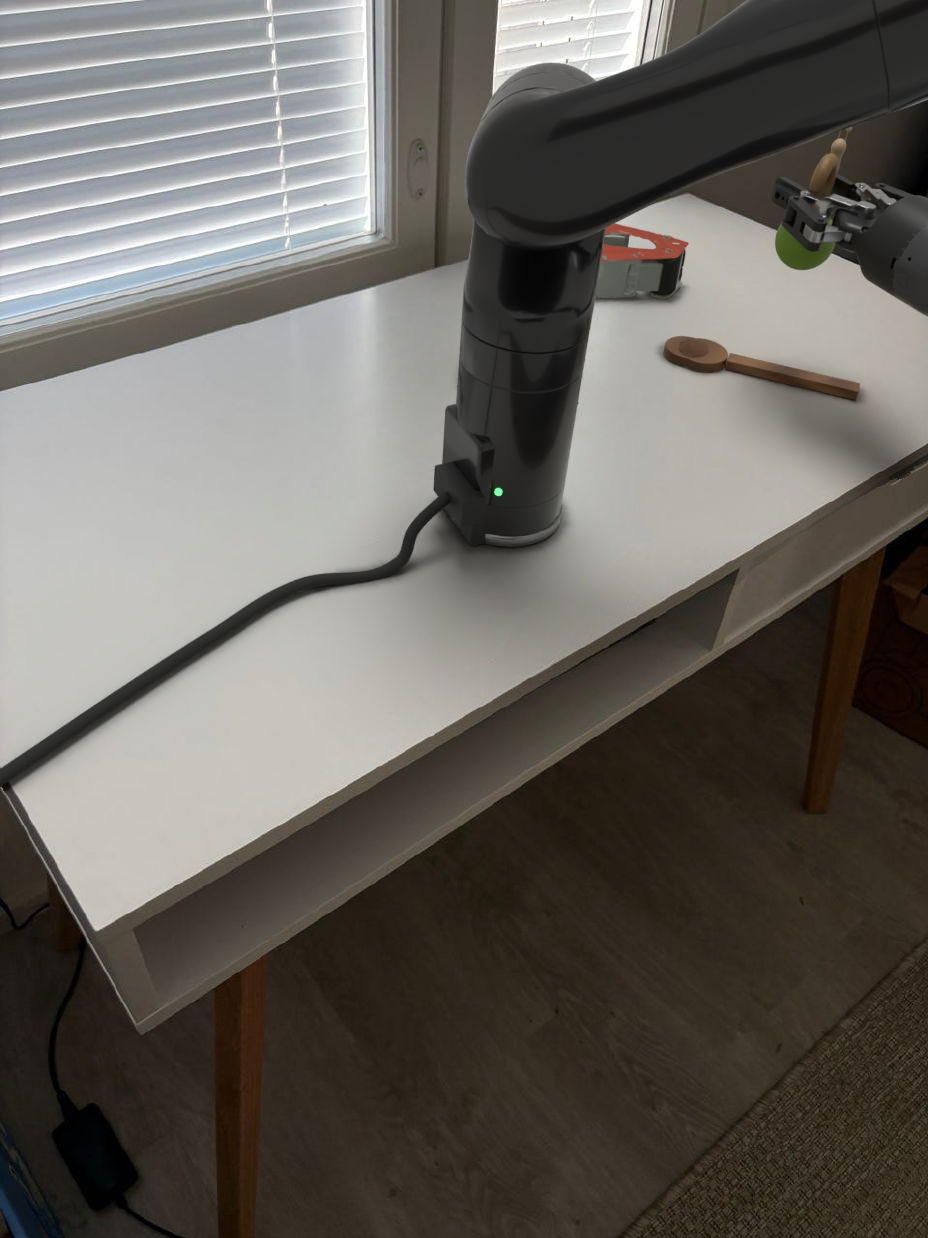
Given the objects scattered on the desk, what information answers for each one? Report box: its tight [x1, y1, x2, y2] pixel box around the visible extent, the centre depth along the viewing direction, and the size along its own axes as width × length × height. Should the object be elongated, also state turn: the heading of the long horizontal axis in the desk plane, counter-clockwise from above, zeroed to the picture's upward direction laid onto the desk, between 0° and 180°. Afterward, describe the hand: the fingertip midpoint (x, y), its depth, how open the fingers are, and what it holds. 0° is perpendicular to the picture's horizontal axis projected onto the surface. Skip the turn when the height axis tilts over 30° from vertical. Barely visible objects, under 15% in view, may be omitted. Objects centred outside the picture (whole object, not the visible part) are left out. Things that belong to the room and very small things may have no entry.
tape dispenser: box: [596, 222, 689, 300], centre depth 113 cm, size 18×5×20 cm
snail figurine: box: [774, 127, 853, 271], centre depth 92 cm, size 5×6×12 cm
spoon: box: [663, 335, 861, 401], centre depth 103 cm, size 20×5×1 cm, turn 70°
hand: (799, 185), depth 93 cm, fingers closed on snail figurine, 4 cm apart
